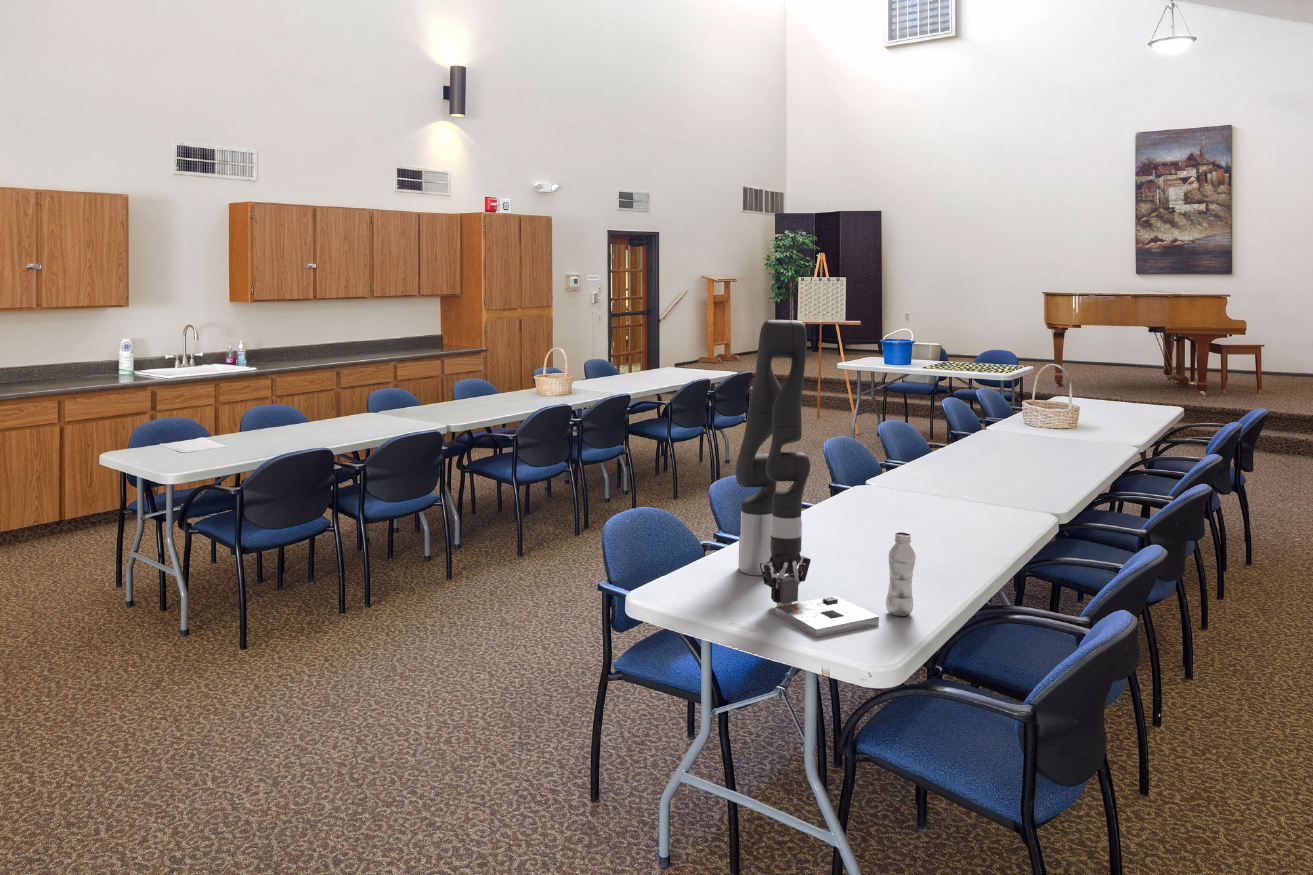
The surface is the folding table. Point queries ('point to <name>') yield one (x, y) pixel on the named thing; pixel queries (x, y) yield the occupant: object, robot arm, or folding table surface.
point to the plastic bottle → (901, 576)
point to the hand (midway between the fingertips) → (784, 599)
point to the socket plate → (826, 616)
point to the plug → (788, 591)
